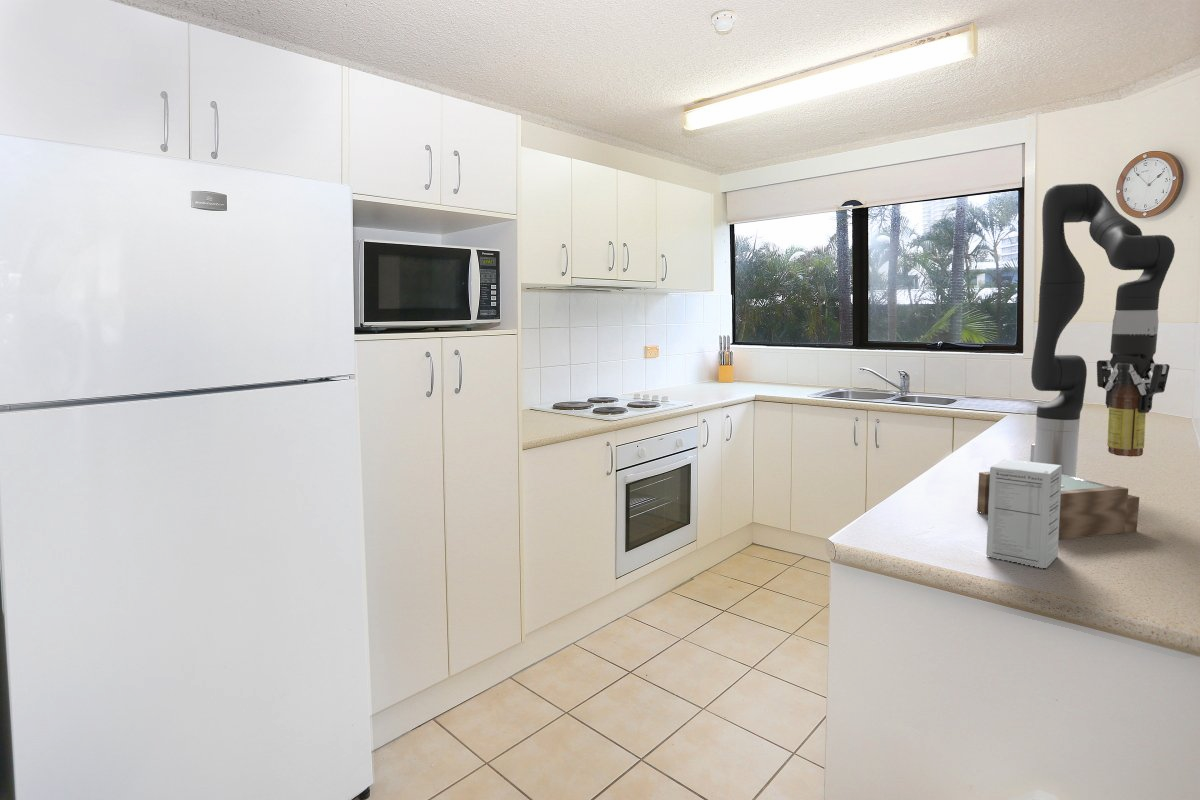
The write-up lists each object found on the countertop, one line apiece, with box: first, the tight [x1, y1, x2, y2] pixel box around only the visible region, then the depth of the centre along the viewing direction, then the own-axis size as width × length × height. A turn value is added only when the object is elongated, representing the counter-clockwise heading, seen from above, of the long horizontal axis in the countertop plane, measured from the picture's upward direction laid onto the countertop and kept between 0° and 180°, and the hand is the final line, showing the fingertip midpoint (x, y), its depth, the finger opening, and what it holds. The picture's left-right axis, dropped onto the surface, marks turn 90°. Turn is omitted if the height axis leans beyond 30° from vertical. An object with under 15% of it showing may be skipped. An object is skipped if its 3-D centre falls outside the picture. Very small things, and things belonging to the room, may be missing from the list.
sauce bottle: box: [1106, 363, 1147, 458], centre depth 141 cm, size 6×6×20 cm
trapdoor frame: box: [976, 471, 1140, 540], centre depth 138 cm, size 20×19×9 cm
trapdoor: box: [1061, 474, 1113, 491], centre depth 138 cm, size 17×14×1 cm
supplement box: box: [986, 458, 1062, 569], centre depth 118 cm, size 10×9×17 cm
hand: (1127, 410), depth 141 cm, fingers closed on sauce bottle, 6 cm apart
